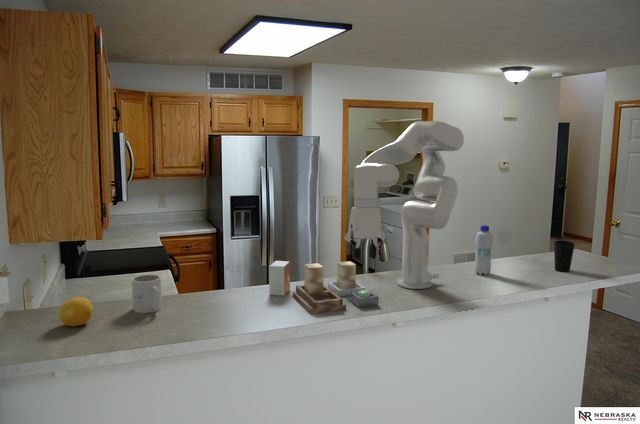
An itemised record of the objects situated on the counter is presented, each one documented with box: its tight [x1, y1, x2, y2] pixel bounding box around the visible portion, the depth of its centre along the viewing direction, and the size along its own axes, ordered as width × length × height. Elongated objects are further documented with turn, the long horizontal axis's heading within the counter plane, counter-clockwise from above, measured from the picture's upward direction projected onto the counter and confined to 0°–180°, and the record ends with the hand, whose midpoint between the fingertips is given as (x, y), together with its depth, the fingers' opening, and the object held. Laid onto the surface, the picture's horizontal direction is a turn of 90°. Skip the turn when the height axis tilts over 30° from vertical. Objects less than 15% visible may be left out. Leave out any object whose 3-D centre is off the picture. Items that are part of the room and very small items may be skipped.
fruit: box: [58, 296, 94, 327], centre depth 143 cm, size 9×8×8 cm
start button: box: [358, 289, 370, 297], centre depth 164 cm, size 4×4×3 cm
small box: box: [268, 260, 291, 297], centre depth 175 cm, size 8×6×10 cm
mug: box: [131, 274, 163, 314], centre depth 156 cm, size 12×9×10 cm
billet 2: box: [336, 260, 357, 290], centre depth 177 cm, size 5×5×10 cm
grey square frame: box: [327, 280, 366, 297], centre depth 178 cm, size 10×11×2 cm
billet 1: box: [303, 262, 324, 293], centre depth 168 cm, size 5×5×10 cm
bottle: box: [474, 224, 494, 276], centre depth 199 cm, size 7×7×20 cm
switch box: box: [349, 290, 380, 309], centre depth 164 cm, size 7×7×3 cm
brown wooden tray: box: [292, 283, 347, 315], centre depth 164 cm, size 12×19×4 cm, turn 20°
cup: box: [553, 240, 576, 273], centre depth 206 cm, size 8×8×12 cm
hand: (365, 258), depth 162 cm, fingers open, 4 cm apart
